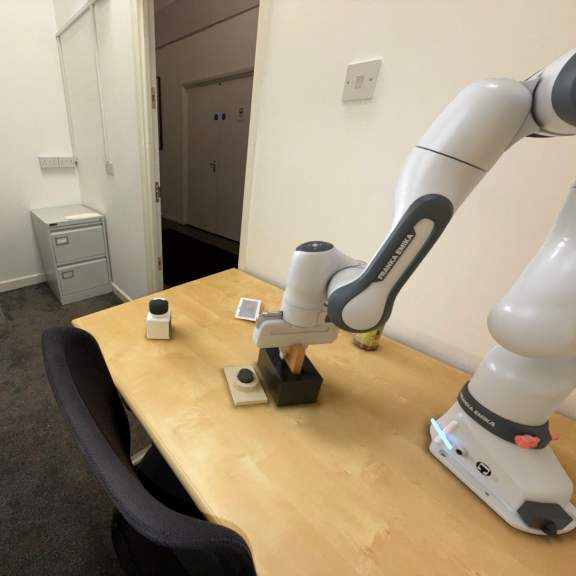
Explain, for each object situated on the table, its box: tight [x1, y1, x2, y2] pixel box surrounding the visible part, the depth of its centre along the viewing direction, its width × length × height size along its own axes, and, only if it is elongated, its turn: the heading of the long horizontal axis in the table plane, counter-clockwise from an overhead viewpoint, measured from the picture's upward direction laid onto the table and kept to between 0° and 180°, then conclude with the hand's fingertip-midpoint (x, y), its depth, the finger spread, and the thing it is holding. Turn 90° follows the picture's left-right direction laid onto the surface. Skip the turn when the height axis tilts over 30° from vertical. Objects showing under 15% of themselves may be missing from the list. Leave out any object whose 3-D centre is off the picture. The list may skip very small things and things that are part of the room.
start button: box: [238, 368, 253, 384], centre depth 76 cm, size 4×4×2 cm
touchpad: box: [234, 296, 262, 322], centre depth 110 cm, size 8×15×2 cm, turn 163°
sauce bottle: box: [354, 322, 387, 351], centre depth 89 cm, size 7×6×20 cm
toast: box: [278, 344, 307, 375], centre depth 75 cm, size 9×2×10 cm, turn 7°
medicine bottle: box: [145, 297, 172, 340], centre depth 94 cm, size 7×7×12 cm
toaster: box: [256, 347, 324, 408], centre depth 77 cm, size 15×10×8 cm, turn 8°
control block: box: [223, 365, 268, 406], centre depth 77 cm, size 12×8×3 cm, turn 8°
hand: (289, 356), depth 75 cm, fingers closed on toast, 2 cm apart
